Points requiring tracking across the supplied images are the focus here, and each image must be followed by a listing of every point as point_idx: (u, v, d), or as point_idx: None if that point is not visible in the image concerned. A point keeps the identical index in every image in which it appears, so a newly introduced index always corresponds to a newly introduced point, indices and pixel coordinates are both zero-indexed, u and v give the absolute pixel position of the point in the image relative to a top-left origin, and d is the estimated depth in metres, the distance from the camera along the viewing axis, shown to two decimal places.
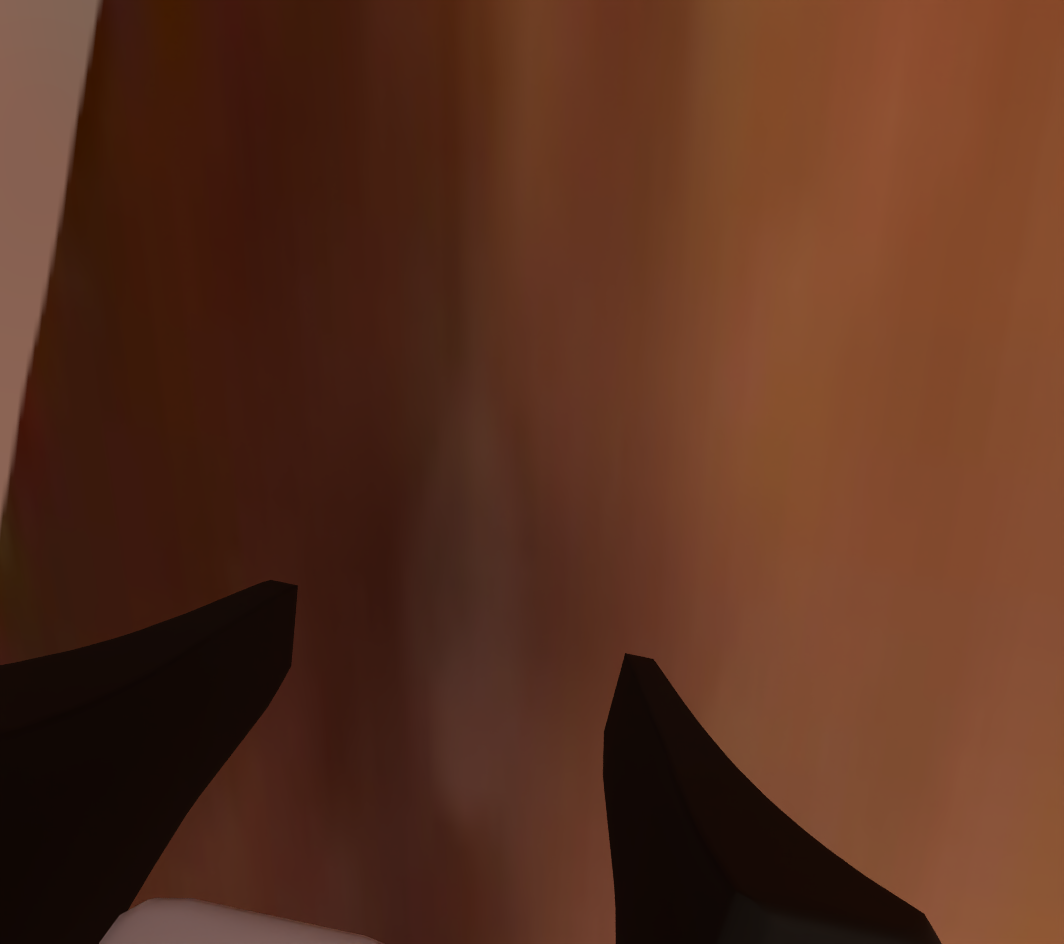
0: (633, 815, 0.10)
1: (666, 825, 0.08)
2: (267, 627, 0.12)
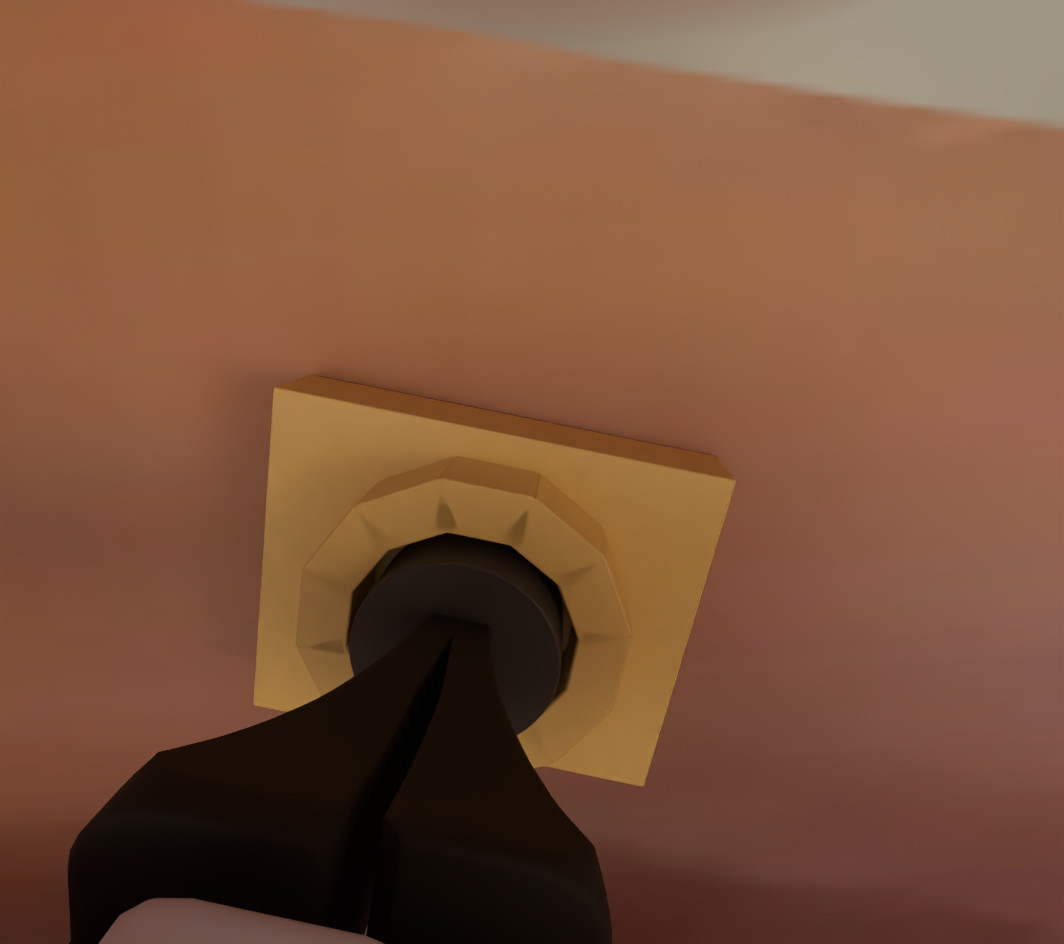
0: None
1: None
2: (445, 664, 0.12)
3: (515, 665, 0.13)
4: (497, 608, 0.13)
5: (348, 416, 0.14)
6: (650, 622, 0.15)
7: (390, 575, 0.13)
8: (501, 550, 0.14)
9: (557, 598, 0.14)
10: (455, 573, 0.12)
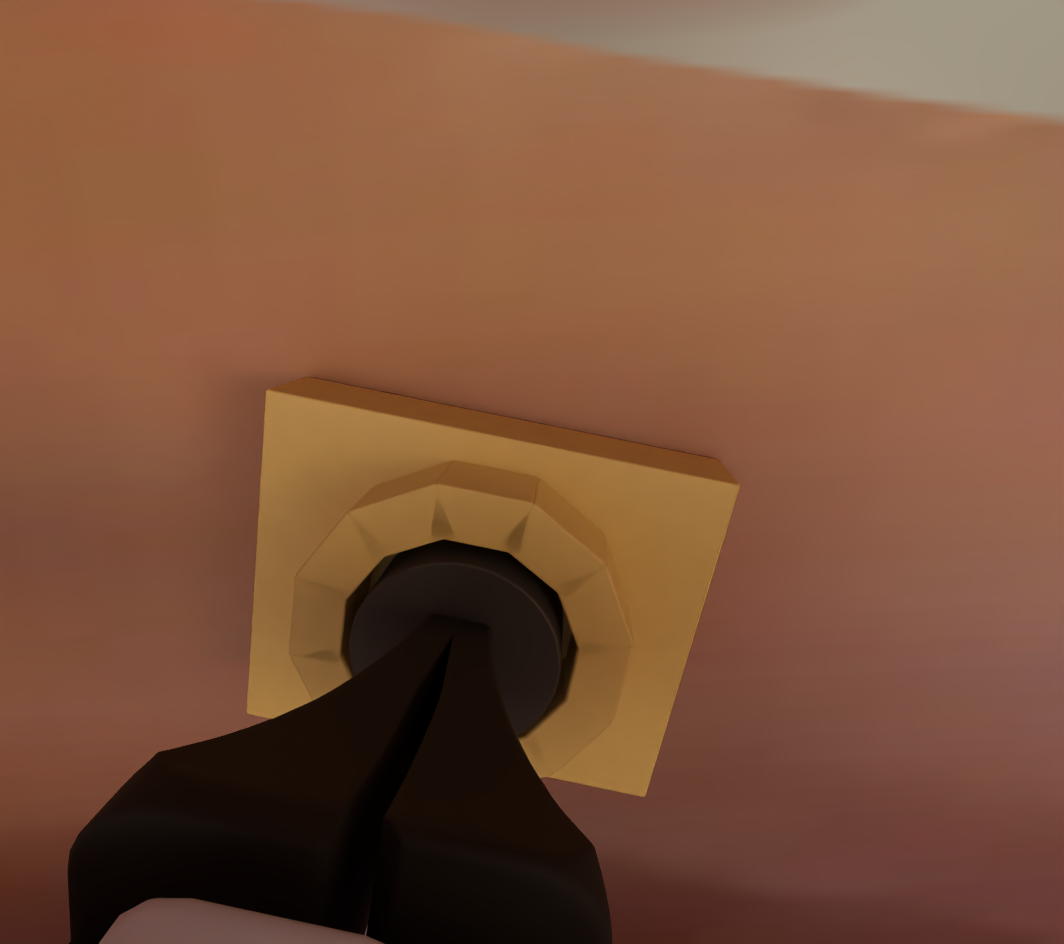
0: None
1: None
2: (445, 664, 0.12)
3: (515, 665, 0.13)
4: (497, 608, 0.13)
5: (342, 419, 0.14)
6: (652, 629, 0.15)
7: (390, 575, 0.13)
8: None
9: (557, 598, 0.14)
10: (455, 573, 0.12)
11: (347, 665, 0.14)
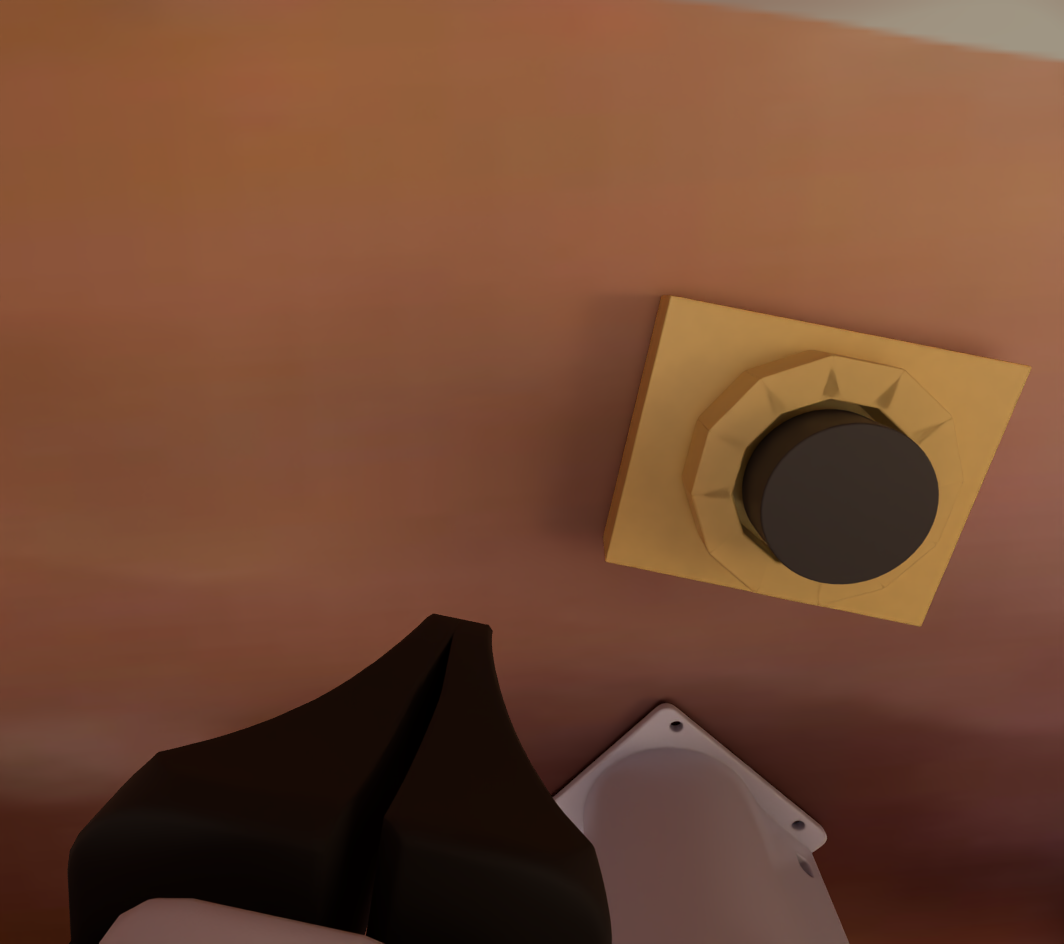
0: None
1: None
2: (445, 664, 0.12)
3: (900, 509, 0.16)
4: (894, 462, 0.16)
5: (727, 318, 0.19)
6: None
7: (806, 436, 0.16)
8: None
9: None
10: (864, 432, 0.16)
11: (735, 502, 0.18)
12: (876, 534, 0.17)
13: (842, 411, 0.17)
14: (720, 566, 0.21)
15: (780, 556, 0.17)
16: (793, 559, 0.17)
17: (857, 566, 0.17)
